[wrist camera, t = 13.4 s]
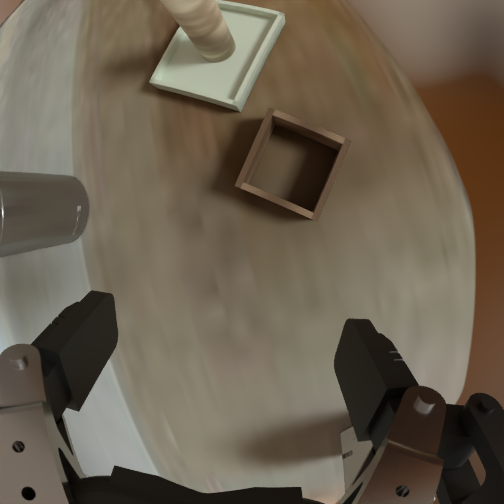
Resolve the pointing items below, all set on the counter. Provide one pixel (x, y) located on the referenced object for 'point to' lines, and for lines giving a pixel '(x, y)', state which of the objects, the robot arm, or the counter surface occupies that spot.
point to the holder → (303, 129)
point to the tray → (226, 72)
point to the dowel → (203, 27)
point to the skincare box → (353, 454)
